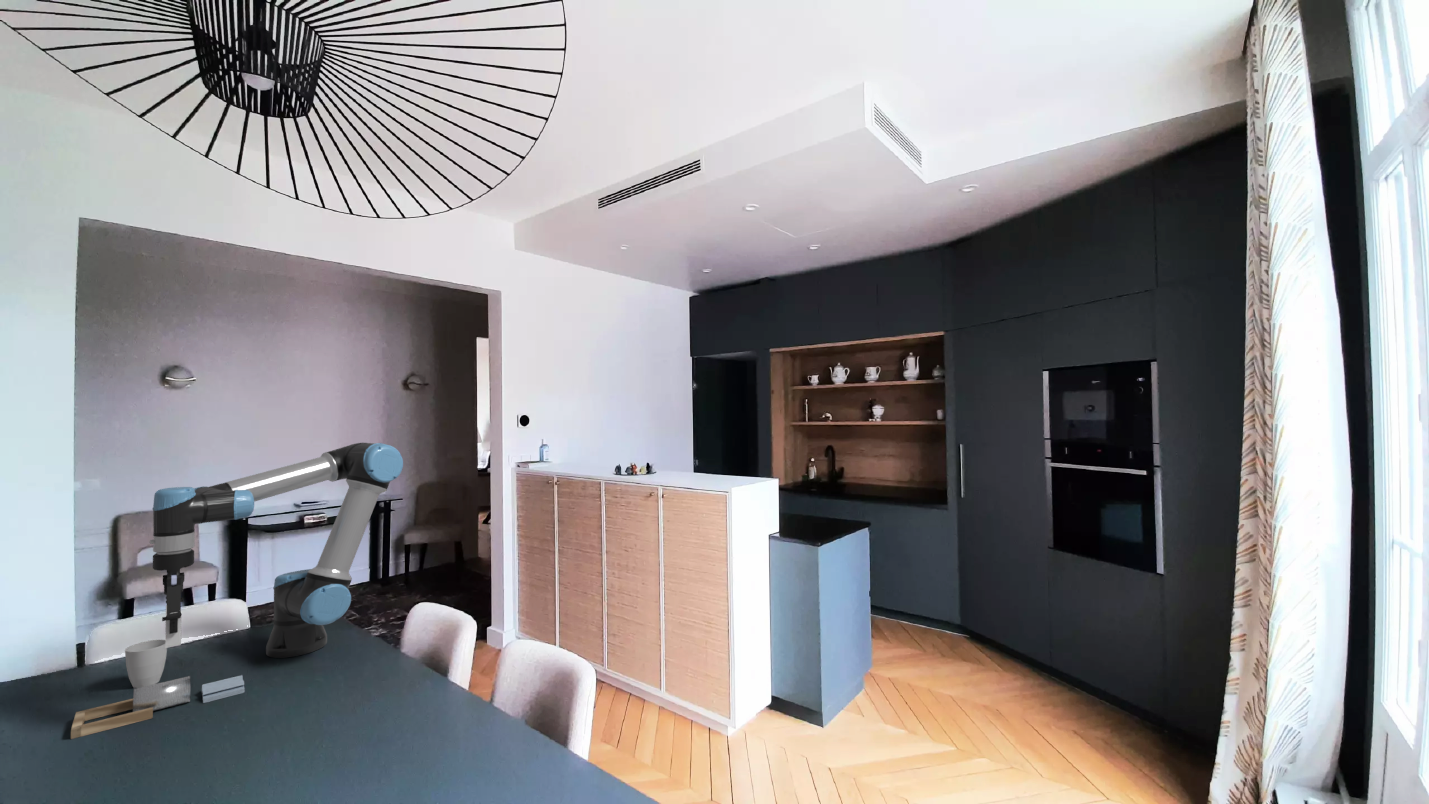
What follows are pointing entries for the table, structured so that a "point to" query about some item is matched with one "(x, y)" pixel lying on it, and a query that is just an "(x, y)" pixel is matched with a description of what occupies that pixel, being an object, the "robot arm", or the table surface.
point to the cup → (145, 662)
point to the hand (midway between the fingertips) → (172, 638)
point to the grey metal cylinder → (162, 694)
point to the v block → (222, 688)
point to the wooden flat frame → (109, 723)
